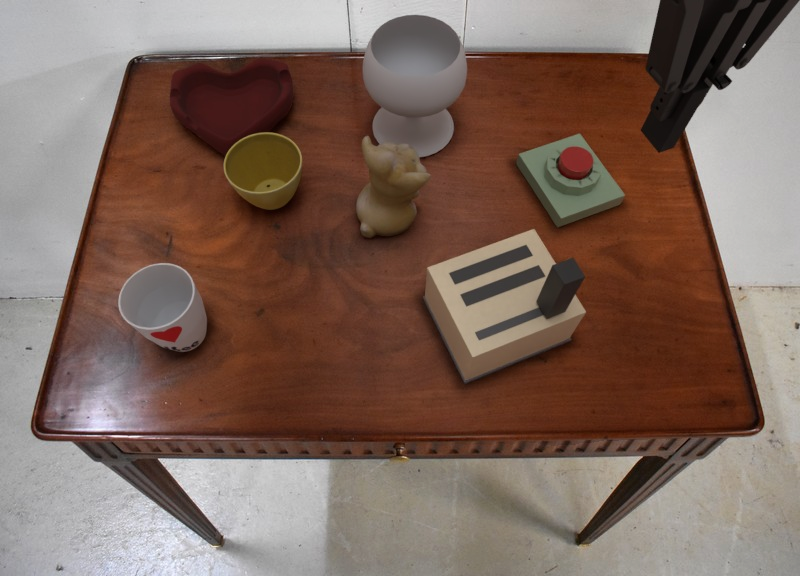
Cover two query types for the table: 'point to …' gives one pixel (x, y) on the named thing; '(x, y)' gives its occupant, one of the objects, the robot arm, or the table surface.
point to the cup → (164, 307)
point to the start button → (575, 163)
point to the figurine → (389, 188)
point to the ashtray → (231, 100)
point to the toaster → (496, 306)
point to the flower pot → (264, 169)
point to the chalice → (414, 81)
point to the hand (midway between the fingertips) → (657, 138)
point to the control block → (568, 183)
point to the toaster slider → (560, 288)
